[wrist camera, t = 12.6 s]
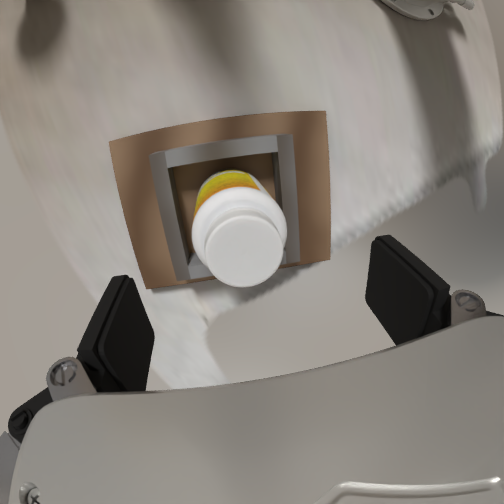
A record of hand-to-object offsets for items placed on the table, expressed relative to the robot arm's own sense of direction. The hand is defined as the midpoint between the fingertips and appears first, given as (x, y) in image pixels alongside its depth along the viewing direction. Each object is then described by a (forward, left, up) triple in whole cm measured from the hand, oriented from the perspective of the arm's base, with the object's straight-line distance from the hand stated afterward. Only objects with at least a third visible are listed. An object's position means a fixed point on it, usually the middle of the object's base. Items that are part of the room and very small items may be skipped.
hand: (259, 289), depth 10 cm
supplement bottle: (0, 0, -14) cm, 14 cm away
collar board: (0, 0, -15) cm, 15 cm away
